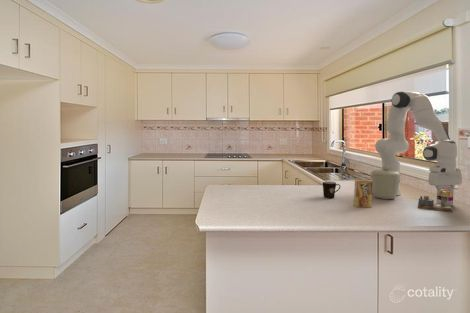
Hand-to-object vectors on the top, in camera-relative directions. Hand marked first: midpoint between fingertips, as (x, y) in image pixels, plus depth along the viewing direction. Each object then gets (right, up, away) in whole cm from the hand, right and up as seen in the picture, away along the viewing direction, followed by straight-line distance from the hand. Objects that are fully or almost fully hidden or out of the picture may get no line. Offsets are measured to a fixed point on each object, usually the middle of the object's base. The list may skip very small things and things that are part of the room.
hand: (444, 192), depth 171 cm
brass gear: (0, -2, 0) cm, 2 cm away
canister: (-20, -7, +29) cm, 36 cm away
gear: (-7, -7, +5) cm, 12 cm away
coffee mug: (-55, -7, +28) cm, 62 cm away
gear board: (-4, -9, +3) cm, 10 cm away
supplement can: (+8, -9, +12) cm, 17 cm away
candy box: (-44, -9, +5) cm, 46 cm away
